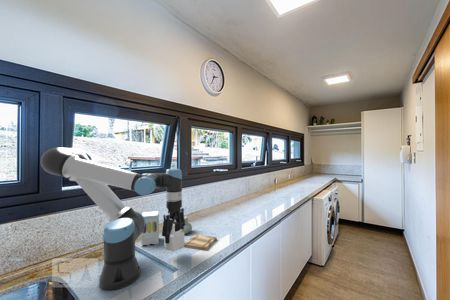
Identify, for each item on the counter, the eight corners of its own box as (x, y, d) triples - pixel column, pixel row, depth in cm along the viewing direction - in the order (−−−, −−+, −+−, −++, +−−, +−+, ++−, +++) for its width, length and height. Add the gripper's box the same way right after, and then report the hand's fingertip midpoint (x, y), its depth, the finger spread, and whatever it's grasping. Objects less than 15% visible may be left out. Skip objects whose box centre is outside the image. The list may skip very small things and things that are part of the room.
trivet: (205, 250, 107) (205, 247, 107) (183, 246, 112) (183, 243, 112) (216, 239, 120) (216, 236, 120) (195, 236, 125) (195, 233, 125)
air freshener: (193, 231, 134) (193, 215, 134) (188, 236, 126) (187, 220, 127) (179, 229, 137) (178, 215, 137) (172, 234, 129) (172, 219, 130)
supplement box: (140, 246, 114) (140, 216, 114) (142, 240, 122) (142, 212, 123) (158, 244, 116) (158, 214, 116) (159, 237, 125) (158, 210, 125)
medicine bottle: (175, 242, 106) (175, 219, 106) (184, 246, 101) (184, 222, 101) (163, 247, 100) (163, 223, 100) (172, 252, 96) (172, 226, 96)
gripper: (166, 205, 90) (166, 256, 89) (191, 196, 109) (191, 238, 109) (153, 204, 93) (153, 253, 92) (180, 195, 112) (180, 236, 112)
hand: (174, 245), depth 101 cm, fingers closed on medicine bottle, 8 cm apart
